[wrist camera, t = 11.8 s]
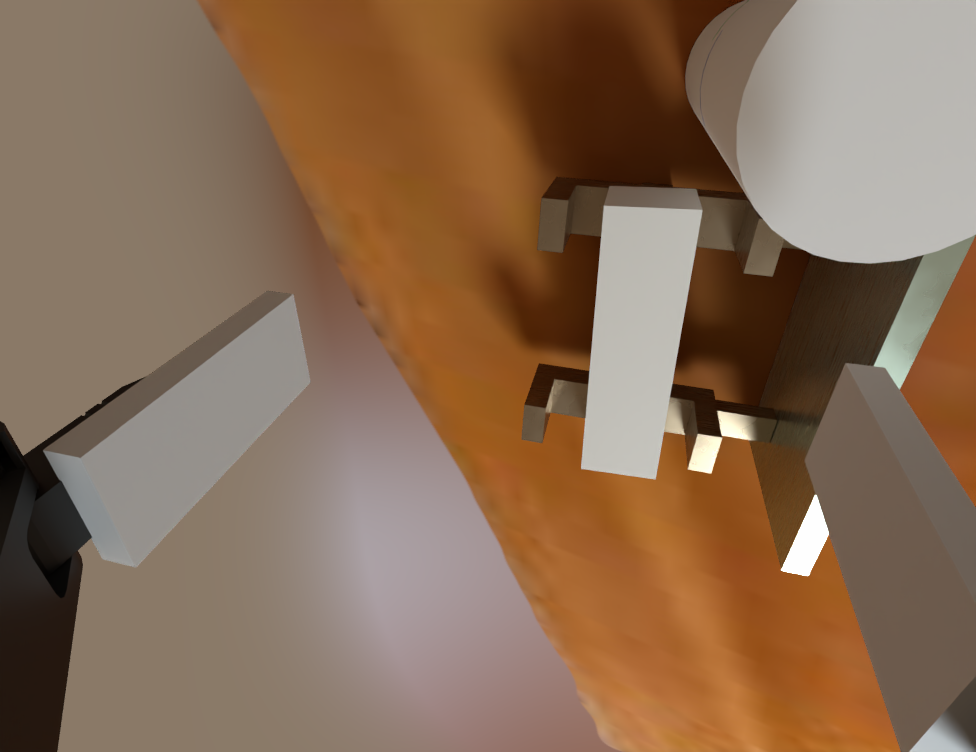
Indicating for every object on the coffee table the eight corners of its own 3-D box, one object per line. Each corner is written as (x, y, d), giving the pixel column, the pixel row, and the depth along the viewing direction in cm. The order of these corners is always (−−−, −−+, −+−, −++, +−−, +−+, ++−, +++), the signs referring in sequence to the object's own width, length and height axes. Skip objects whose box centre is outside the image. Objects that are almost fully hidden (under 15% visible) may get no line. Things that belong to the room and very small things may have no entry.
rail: (609, 185, 34) (603, 205, 30) (696, 188, 33) (702, 209, 29) (587, 427, 43) (581, 468, 39) (655, 436, 42) (655, 479, 38)
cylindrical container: (665, 112, 36) (684, 209, 15) (720, -20, 32) (850, -137, 11) (773, 149, 35) (948, 301, 15) (842, 20, 31) (1217, -26, 11)
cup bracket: (566, 129, 38) (528, 167, 26) (873, 151, 34) (989, 207, 22) (539, 401, 49) (504, 513, 37) (767, 439, 46) (807, 575, 34)
